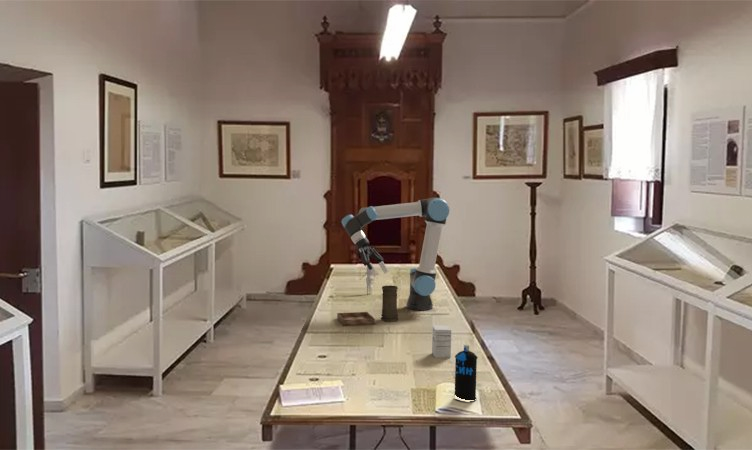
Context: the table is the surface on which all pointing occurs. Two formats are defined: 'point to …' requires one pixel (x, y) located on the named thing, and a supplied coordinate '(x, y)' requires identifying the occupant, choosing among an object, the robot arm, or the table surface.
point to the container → (389, 303)
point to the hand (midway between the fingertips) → (381, 273)
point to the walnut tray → (355, 318)
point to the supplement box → (441, 342)
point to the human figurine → (368, 280)
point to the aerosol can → (465, 374)
